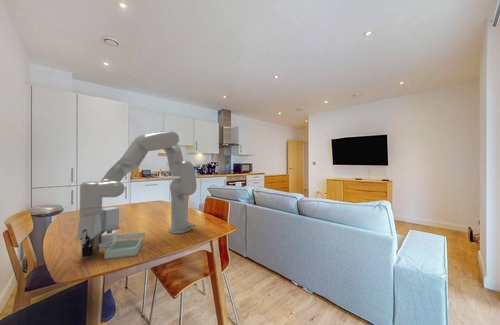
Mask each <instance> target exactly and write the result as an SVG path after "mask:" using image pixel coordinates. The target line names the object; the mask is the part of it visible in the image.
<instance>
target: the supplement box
mask: <svg viewBox="0 0 500 325" xmlns="http://www.w3.org/2000/svg"><path fill="white" fill-rule="evenodd" d="M101 214H102V229H101V230H107V229H112V231H115V230H117V229H119V228H120V208H119V207H117V206H116V207H115V206H110V207H105V208H104V207H102V213H101Z"/></svg>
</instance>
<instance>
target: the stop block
mask: <svg viewBox="0 0 500 325" xmlns="http://www.w3.org/2000/svg"><path fill="white" fill-rule="evenodd" d="M87 239H89V237H87ZM87 242H89V240H88V241H87ZM91 246H93V251H92V256H86V257H83V247H82V246H81V255H80V256H81V257H80V258H81V261H85V260H92V259H93V260H95V258H96V257H98V255H100V248H99V234H98V235H96V236H95V237H94V238H92V245H91Z"/></svg>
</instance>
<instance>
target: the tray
mask: <svg viewBox="0 0 500 325" xmlns="http://www.w3.org/2000/svg"><path fill="white" fill-rule="evenodd" d="M142 246H143V237H140V238H135V239H134V238H130V239H123V240H121V239H120V240H117V241H114V242H113V243H112V244H111V245H110V246H109V247H107V248H106V250H104V260H112V259H113V260H114V259H121V258H122V259H123V258H129V257H136V256H137V255H138V253H139V251H140V250H141V247H142Z"/></svg>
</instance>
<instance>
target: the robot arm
mask: <svg viewBox="0 0 500 325" xmlns="http://www.w3.org/2000/svg"><path fill="white" fill-rule="evenodd" d="M179 142H180V137H179V135H178V133H177V132H175V131H172V130H169V131H161V132H155V133H147V134H141V135H138V136H137V137H135V138H134V140H133V141H132V142H131V143H130V145H129V146H128V148H127V149H126V151H125V152H124V153H123V155H122V156H121V157H120V158H119V159H118V161H116V162H115V163H114V164H113V165H112V166H111V168H109V169H108V170H107V171H106V173H105V174H104V175H103V178H101V180H100V181H84V182H82V183H81V184H80V185H79V220H78V226H77V227H78V228H77V240H78V241H80V245H81V248H82V247H83V257H86V256H92V251H93V246H91V245H92V238H94V237H95V236H96V235H98V234H99V233H100V231H101V213H102V209H103V198H117V197H118V198H119V196H121V195H122V194H123V193H124V192H125V189H126V188H125V185H124V184H123V182H121V181H122V180H123V178H125V177H126V176H127V175H128V174H129V173H131V172H133V171H135V170H136V169H138V168H139V167H140V166H141V164H142V162H143V161H144V160H145V158H146V157H147V154H148V153H149V152H153V151H160V150H163V151H164V152H165V154H166V156H167V164H168V168H169V169H168V170H169V173H170V174H171V176H174V177H177V178H174V179H173V180H172V181H171V182H170V185H169V191H170V198H171V199H170V200H171V201H170V202H171V208H170V209H171V212H170V213H171V216H170V219H171V220H170V227H169V228H168V230H167V231H168V233H169V234H175V235H177V234H185V233H187V232H189V231H190V230H191V227H192V228H194V227H196V223H194V222H189V198H188V196H191V195H194V194H195V193H196V191H197V178H196V171H195V167H194V165H193V164H192V162H191V161H189V160H186V159H185V160H184V156H183V153H182V149H181V147H180V146H179ZM87 237H89V239H87ZM88 240H89V242H87V241H88Z"/></svg>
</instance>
